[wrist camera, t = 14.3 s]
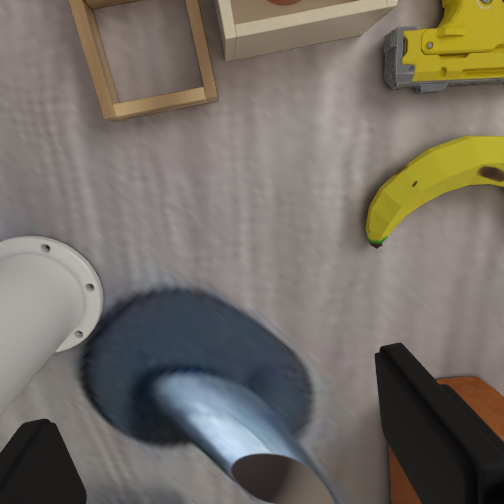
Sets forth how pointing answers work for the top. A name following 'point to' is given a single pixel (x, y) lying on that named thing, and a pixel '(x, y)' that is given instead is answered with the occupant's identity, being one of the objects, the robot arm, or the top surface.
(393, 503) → the bread
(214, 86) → the rack
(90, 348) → the top surface
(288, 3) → the cup
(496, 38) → the toy gun
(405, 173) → the banana
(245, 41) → the open wooden box
